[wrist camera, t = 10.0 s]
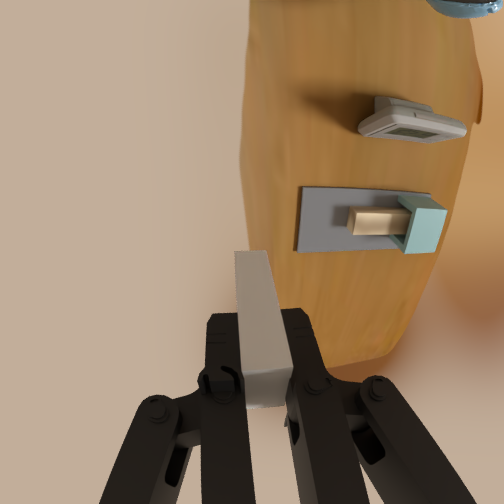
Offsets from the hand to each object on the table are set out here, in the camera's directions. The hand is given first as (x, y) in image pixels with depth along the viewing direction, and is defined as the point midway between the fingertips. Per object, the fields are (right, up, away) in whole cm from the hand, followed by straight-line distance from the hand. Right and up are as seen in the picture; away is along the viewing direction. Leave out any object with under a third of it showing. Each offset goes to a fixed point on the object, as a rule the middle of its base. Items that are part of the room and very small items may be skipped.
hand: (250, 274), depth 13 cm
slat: (+24, +7, +32) cm, 40 cm away
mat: (+21, +7, +32) cm, 40 cm away
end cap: (+31, +8, +32) cm, 45 cm away
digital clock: (+24, +23, +23) cm, 40 cm away
